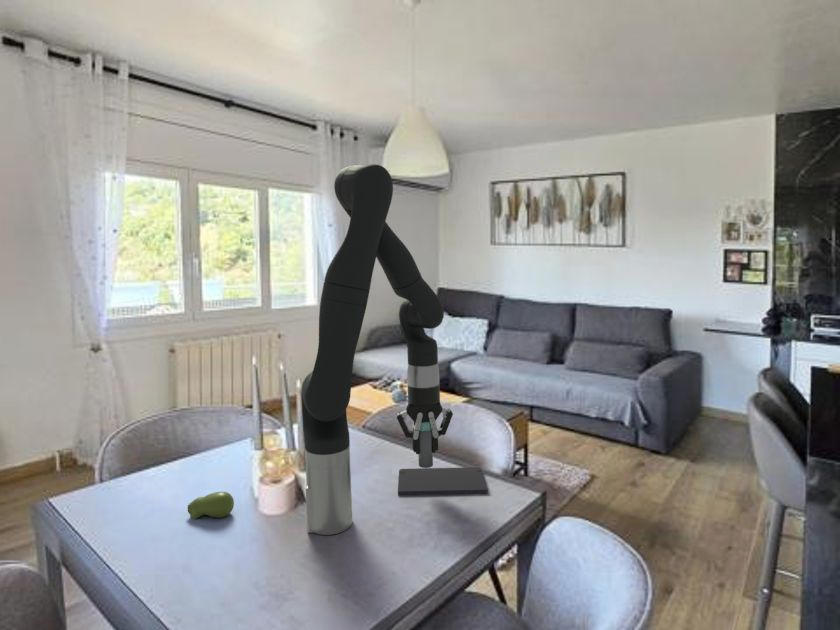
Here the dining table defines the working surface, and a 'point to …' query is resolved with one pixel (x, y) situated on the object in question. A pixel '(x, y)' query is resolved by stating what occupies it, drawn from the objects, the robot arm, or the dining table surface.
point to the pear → (212, 505)
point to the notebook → (441, 481)
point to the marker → (425, 445)
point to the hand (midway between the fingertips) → (425, 452)
